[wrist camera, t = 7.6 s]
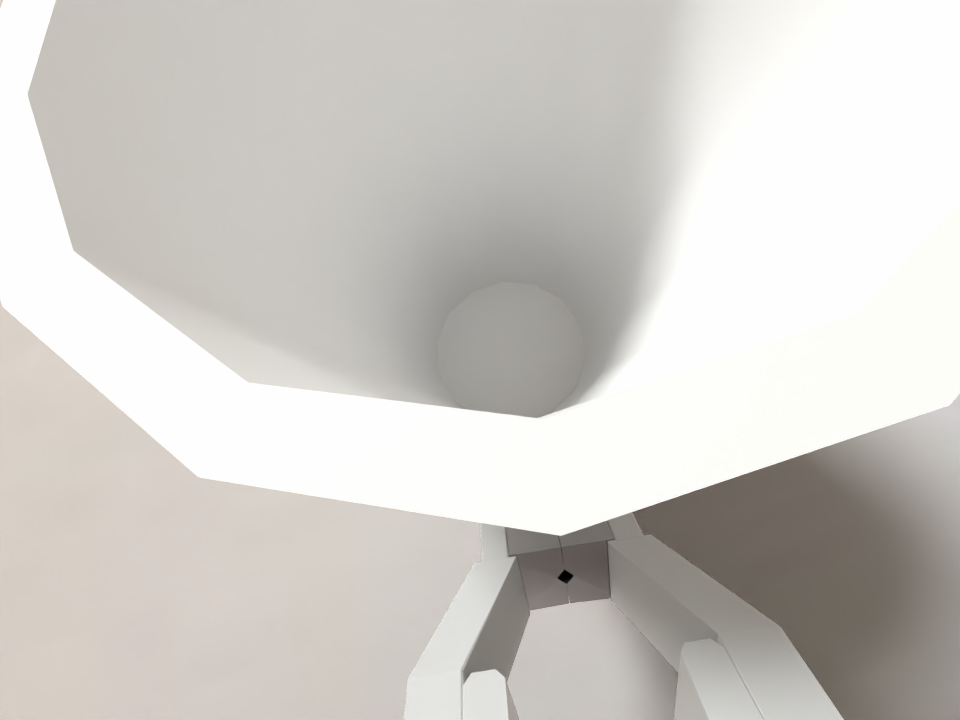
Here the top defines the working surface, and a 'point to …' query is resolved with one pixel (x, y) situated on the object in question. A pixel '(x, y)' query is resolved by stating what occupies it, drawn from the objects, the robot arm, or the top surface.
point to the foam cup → (488, 236)
